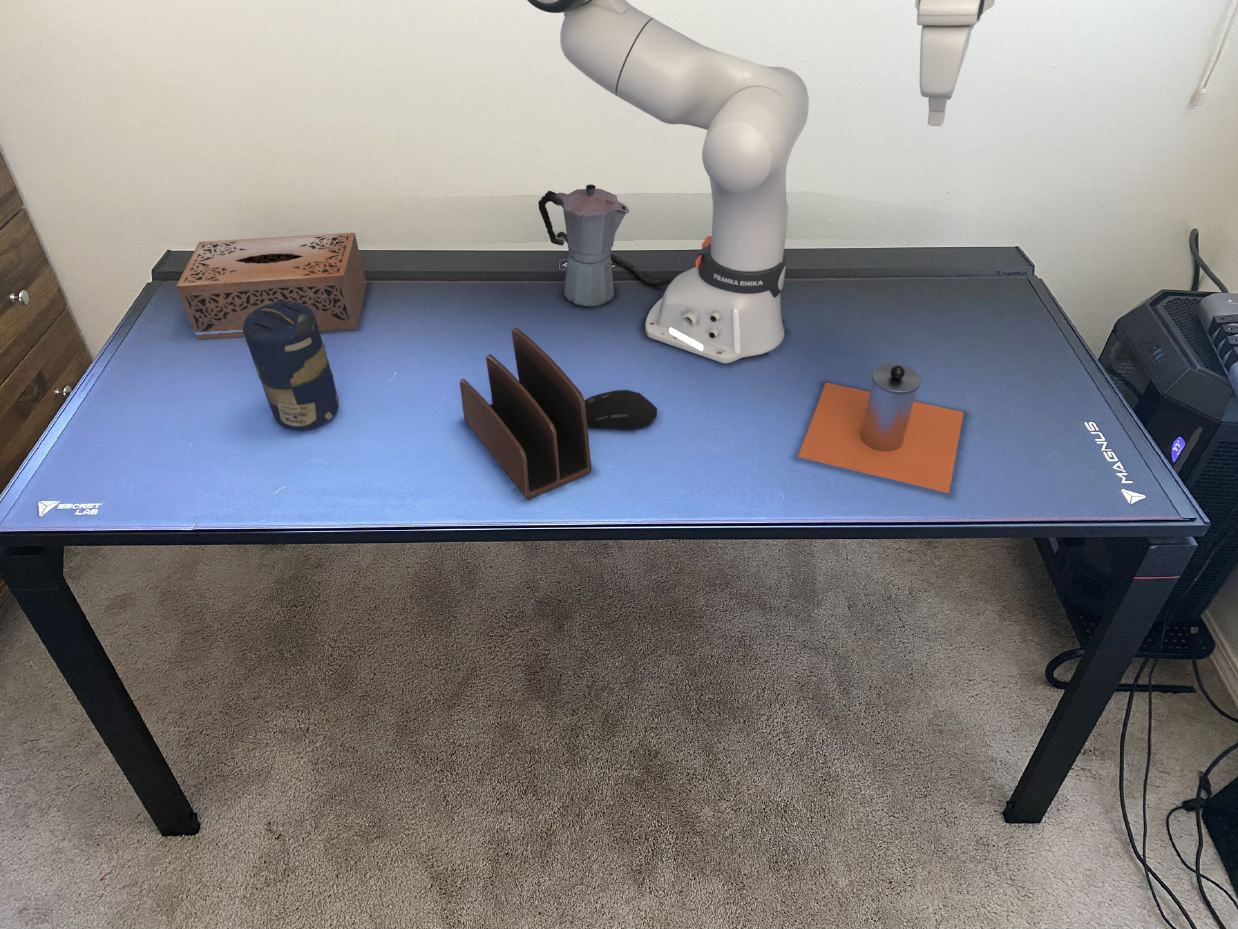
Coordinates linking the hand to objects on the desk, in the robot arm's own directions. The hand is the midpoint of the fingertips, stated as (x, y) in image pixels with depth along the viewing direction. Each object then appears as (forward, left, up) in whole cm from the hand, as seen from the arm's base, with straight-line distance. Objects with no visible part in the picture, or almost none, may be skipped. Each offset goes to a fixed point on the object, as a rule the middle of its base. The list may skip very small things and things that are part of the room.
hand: (940, 110), depth 112 cm
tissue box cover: (-97, -21, -39) cm, 107 cm away
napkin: (+3, -18, -39) cm, 43 cm away
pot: (+3, -19, -38) cm, 43 cm away
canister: (-76, -43, -39) cm, 96 cm away
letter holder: (-43, -38, -39) cm, 69 cm away
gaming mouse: (-35, -28, -39) cm, 59 cm away
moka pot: (-51, +2, -39) cm, 64 cm away
